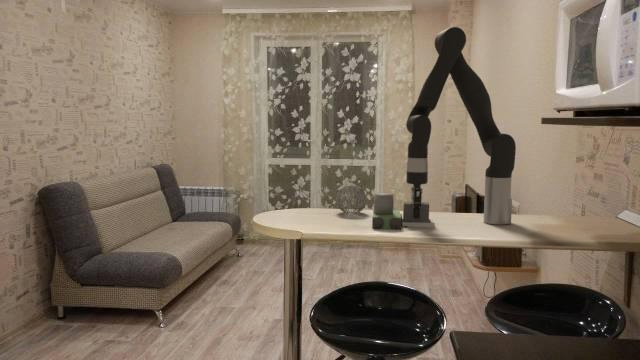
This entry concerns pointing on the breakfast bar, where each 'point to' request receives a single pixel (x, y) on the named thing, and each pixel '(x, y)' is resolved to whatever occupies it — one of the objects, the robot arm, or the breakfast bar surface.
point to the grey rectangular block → (409, 211)
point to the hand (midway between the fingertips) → (415, 216)
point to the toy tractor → (392, 214)
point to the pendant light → (351, 193)
